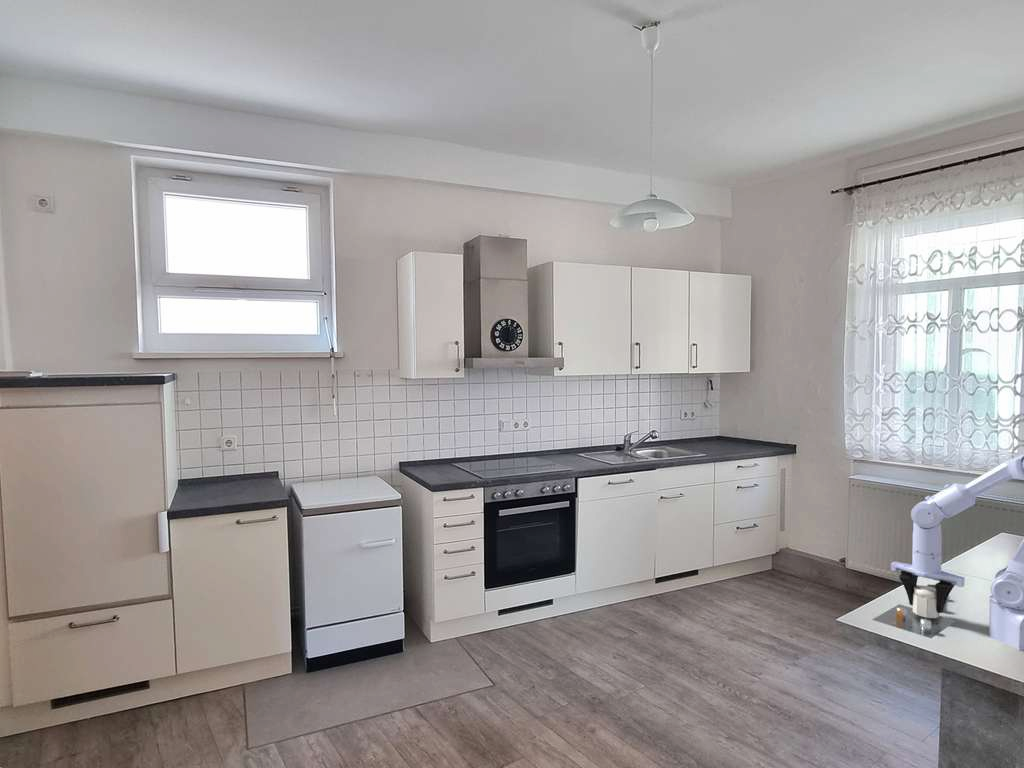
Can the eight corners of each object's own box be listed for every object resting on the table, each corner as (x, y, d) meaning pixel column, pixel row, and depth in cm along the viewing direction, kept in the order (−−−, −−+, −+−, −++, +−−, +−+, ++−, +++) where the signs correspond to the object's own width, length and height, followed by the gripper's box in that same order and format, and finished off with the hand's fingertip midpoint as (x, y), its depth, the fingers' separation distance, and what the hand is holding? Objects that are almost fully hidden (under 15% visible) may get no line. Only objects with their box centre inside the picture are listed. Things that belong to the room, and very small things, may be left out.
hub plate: (899, 608, 149) (899, 594, 149) (955, 624, 139) (956, 610, 139) (871, 623, 139) (872, 609, 139) (930, 642, 129) (931, 626, 129)
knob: (931, 610, 143) (931, 585, 143) (943, 618, 138) (943, 593, 138) (909, 609, 143) (909, 584, 143) (920, 617, 138) (920, 591, 138)
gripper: (886, 547, 144) (885, 602, 144) (957, 562, 132) (956, 622, 132) (898, 542, 148) (897, 595, 148) (967, 557, 136) (967, 614, 136)
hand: (926, 607), depth 140 cm, fingers closed on knob, 5 cm apart
